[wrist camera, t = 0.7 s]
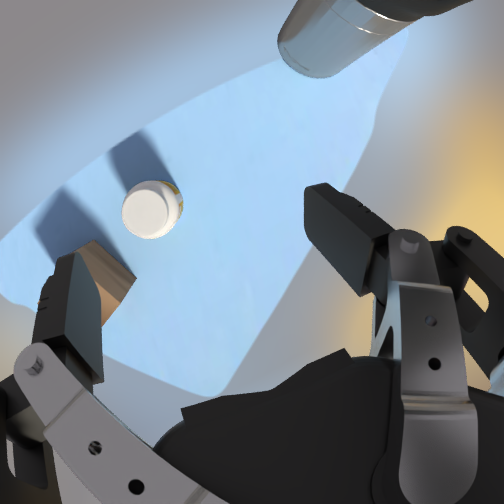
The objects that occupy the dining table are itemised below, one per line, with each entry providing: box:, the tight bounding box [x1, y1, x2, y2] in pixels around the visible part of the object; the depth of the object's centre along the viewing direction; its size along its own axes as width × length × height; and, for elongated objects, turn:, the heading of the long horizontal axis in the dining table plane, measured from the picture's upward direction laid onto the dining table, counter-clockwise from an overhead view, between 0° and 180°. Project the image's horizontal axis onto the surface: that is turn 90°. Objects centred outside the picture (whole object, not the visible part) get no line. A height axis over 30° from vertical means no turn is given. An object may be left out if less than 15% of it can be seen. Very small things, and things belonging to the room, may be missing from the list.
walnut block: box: [37, 240, 137, 327], centre depth 30 cm, size 7×7×8 cm
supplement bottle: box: [122, 181, 183, 239], centre depth 29 cm, size 5×5×10 cm
